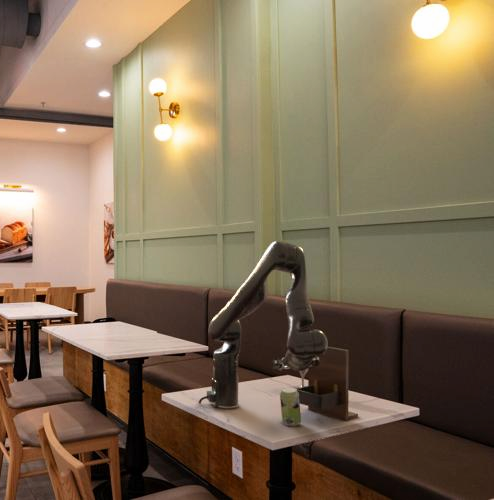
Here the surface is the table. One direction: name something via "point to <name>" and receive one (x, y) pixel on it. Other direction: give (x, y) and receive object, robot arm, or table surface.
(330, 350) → the wooden backboard stand
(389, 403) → the table surface
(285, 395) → the beverage can
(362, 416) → the table surface
